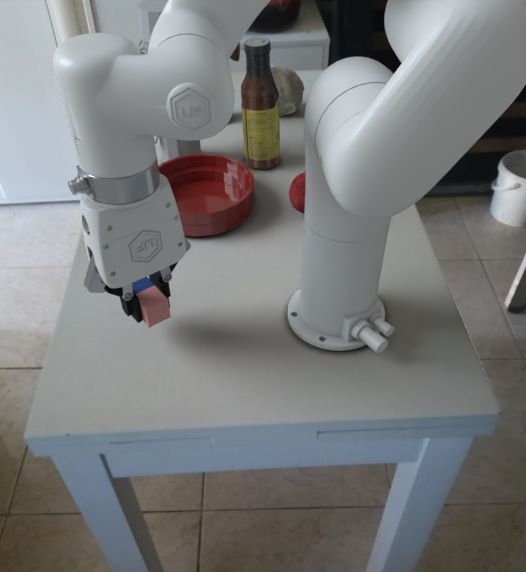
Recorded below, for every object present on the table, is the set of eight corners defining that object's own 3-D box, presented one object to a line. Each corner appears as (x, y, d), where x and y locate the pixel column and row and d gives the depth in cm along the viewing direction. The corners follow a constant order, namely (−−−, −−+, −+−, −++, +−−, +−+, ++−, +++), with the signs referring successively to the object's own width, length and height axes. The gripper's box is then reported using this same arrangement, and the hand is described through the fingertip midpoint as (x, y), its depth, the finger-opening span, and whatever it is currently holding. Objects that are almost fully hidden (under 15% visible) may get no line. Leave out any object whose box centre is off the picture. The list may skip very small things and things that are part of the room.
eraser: (171, 316, 69) (168, 298, 67) (149, 328, 68) (145, 309, 66) (146, 290, 72) (143, 272, 70) (125, 300, 71) (120, 282, 69)
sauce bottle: (287, 163, 101) (289, 42, 86) (258, 175, 98) (255, 53, 83) (264, 148, 104) (262, 30, 89) (236, 159, 102) (230, 40, 87)
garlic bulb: (300, 125, 115) (319, 81, 106) (265, 130, 111) (282, 85, 102) (278, 94, 118) (294, 49, 110) (243, 97, 114) (257, 51, 106)
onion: (322, 226, 88) (325, 180, 82) (285, 222, 89) (286, 176, 83) (327, 205, 92) (330, 159, 86) (291, 201, 93) (293, 156, 87)
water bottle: (190, 146, 105) (172, -8, 86) (210, 165, 100) (196, 7, 82) (144, 160, 102) (115, 4, 83) (163, 180, 97) (137, 20, 79)
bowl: (276, 211, 91) (276, 186, 87) (184, 253, 84) (181, 228, 81) (215, 166, 100) (213, 142, 97) (128, 201, 93) (123, 177, 90)
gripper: (59, 223, 51) (101, 357, 65) (210, 165, 58) (220, 298, 72) (26, 186, 55) (73, 320, 69) (172, 136, 62) (188, 267, 76)
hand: (148, 308), depth 70 cm, fingers closed on eraser, 3 cm apart
